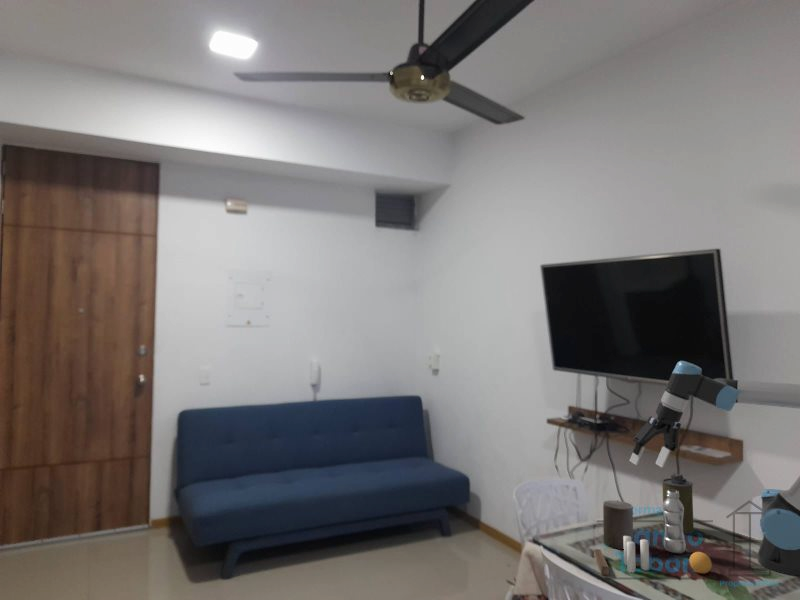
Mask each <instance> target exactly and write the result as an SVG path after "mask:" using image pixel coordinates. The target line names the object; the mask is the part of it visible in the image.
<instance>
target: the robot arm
mask: <svg viewBox="0 0 800 600" xmlns="http://www.w3.org/2000/svg"><path fill="white" fill-rule="evenodd" d="M702 371H703V370H702V368H701V367H700V366H698V365H696V364H694V363H691V362H688V361H685V360H680V361H678V362H677V363H676V365H675V367H674V369H673V371H672V373H671V375H670V377H669V380H668V382H667V384H666V387H665V389H664V392H663V394H662V396H661V399H660V402H659V403H658V405H657V408H656V410H655V413H656V415H657V416H656V418H655V417H653V416H649V417H648V419H647V421H646V422H645V424H643V426H642V427H641V429H640V430H638V432H637V433H636V434H635V435H634V437H633V438H632V441H633V442H634V443H635V447H634V448H633V451H632V453H631V456H630V458H629V459H628V460H629V462H630V463H631V464H633V465H635V466H638V464H639V462H640V460H641V457H642V455H643V454H644V451H645V448H646V447H645V445H646V444H648V443H649V442H650V441H651V440H652V439H653V438H654V437H656V436H657V435H660V434H663V441H664V446H662V447H661V450H660V452H659V453H658V456H657V459H656V461H655V464H656V465H657V466H659V467H660V468H662V469H663V468H664V466H665V464H666V463H667V460H668V458H669V456H670V454H671V452H673V453H674V452H676V449H678V444H679V435H680V434H679V433H680V428H681V426H682V424H681V423H680V422H681V419H682V416H683V414H684V413H683V412H684V411H685V410H686V407H687V406H688V403H689V401H690V397H691V396H692V397H693V398H696V399H698V400H701V401H703V402H705V403H708V404H709V405H712V406H715V408H718V409H721V410H724V411H727V412H730V411H732V409H733V408H734V406H735V404H747V405H758V406H766V407H767V406H769V407H779V408H789V409H800V384H799V383H785V382H769V381H757V380H755V381H754V380H741V379H729V378H724V377H716V378H713V379H712V378H710V377H708V376H706V375H703V374H702ZM760 498H761V504H762V505H761V517H760V521H759V526H760V529H761V531H762V534H763V536H762V537H763V538H762V540H761V543H760V545H759V546H760V547H759V549H758V551H757V561H758V564H760V565H761V566H763V567H764V566H765V568H766V567H767V568H766V569H768V568H769V570H771V571H774V572H778V573H780V574H781V573H782V574H786V575H791V576H800V475H799V476H798V477H797V478H796V480H795V481H794V483H792V485H791V486H790V487H789V489H786V490H782V489H777V488H776V489H775V488H765V489H763V490H762V491H761V497H760Z"/></svg>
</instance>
